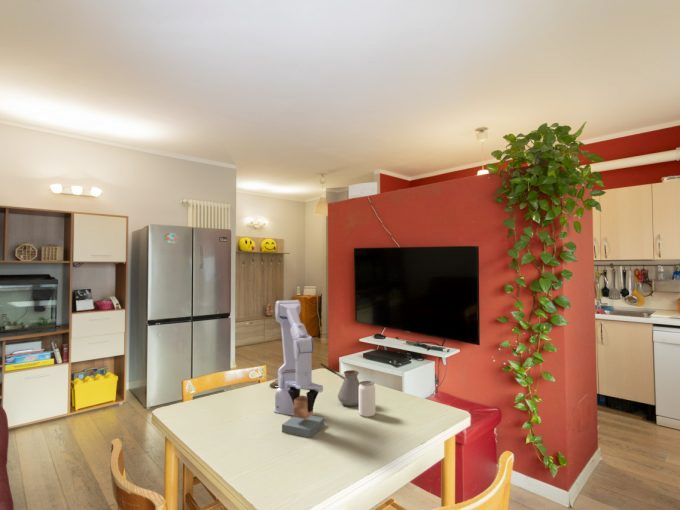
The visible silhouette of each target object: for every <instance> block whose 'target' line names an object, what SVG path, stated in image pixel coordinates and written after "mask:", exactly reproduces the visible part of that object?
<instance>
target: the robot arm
mask: <svg viewBox="0 0 680 510" xmlns="http://www.w3.org/2000/svg"><path fill="white" fill-rule="evenodd" d="M301 305H302V304H301V301H299V299H295V300H293V299H292V300H277V301H276V302H275V304H274V313H275V314H274V315H275V320H276V322H277V323H278V324H279V325H280V329H281V343H282V344H281V345H282V353H283V364H282V365H281V366H280V367H279V368H278V370H277V380H278V386H279V387H278V388H276V391H275V396H274V398H275V399H274V400H275V401H274V406H275V408H274V410H273V411H274V413H276V414H282V415H287V416H289V415H290V416H294V399H296V398H297V397H299V396H301V390H305V391H308V392H306V395H305V396H307V399H308V412H311V411H313V412H314V405H315V402H316V399H317V397H318V395H319V393H322V392H323V391H324V387H323V386H324V385H322V384H318V383H315V382H313V381H312V380H313V379H312V378H313V377H312V374H313V373H312V372H313V371H312V361H313V359H312V358H313V357H312V356H313V355H312V354H313V353H314V350H315V342H314V339H313V337H312V336H311V335H310V334H308V331H307V329H306V325H305V324H304V323H302V322H301V319H300V313H301V311H302V310H301V309H302V307H301Z"/></svg>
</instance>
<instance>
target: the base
mask: <svg viewBox="0 0 680 510" xmlns="http://www.w3.org/2000/svg"><path fill="white" fill-rule="evenodd" d="M324 426H325V417H321V416H317V415H311V416H310V417H309V418H307V419H302V418H297V417H294V415H292V417H291V418H289V419H288V420H286V421H285V422H283V423H282V424H281V433H285V434H286V433H287V434H291V435H295V436H301V437H304V438H311V437H313V436H314V435H315V434H316V433H317V432H319V430H321V429H322V428H323V427H324Z"/></svg>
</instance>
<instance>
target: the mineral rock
mask: <svg viewBox="0 0 680 510" xmlns="http://www.w3.org/2000/svg"><path fill="white" fill-rule="evenodd" d="M270 386H271V387H275V386H278V379H275V380H274V381H272V382H271V383H269V387H270Z"/></svg>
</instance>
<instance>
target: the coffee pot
mask: <svg viewBox="0 0 680 510" xmlns="http://www.w3.org/2000/svg"><path fill="white" fill-rule="evenodd" d="M321 367H323V368H325V369H326V370H327V371H329V372H331V373H333V374H334V375H336V376H338V377H339V378H341V379H342V380H343V382H342V385H341V387H340V389H339V391H338V394H337V398H338V401H339V402H340V403H341V404H342V405H343V406H347V407H357V406H359V385H360V381H359V378H358V375H359V374H360V373H359V372H360V371H358V370H355V369H353V370H351V369H349V370H345V371H343V375H344V376H343V375H341V373H338V372H337V371H335V370H334V369H333V368H331V367H329V366H327V365H326V364H323V363H320V364H319V365H318V368H321Z"/></svg>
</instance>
